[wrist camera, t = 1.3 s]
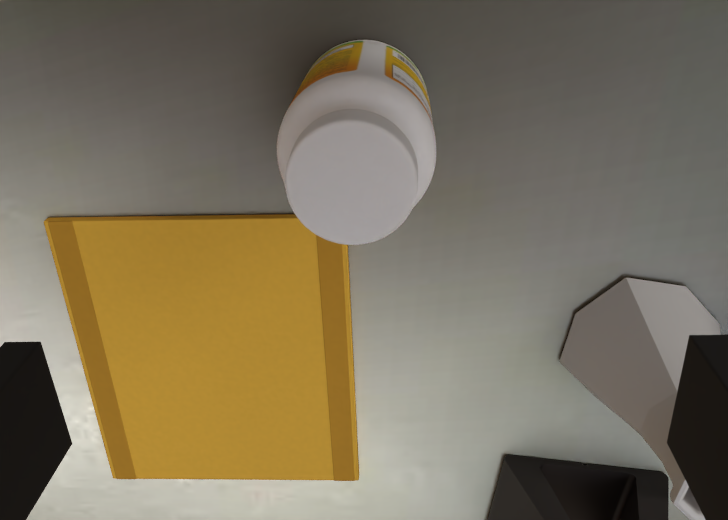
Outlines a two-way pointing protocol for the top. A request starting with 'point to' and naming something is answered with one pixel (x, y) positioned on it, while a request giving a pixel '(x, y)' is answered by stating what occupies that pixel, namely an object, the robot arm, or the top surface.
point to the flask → (640, 361)
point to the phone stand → (577, 491)
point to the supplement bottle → (357, 143)
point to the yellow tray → (213, 344)
